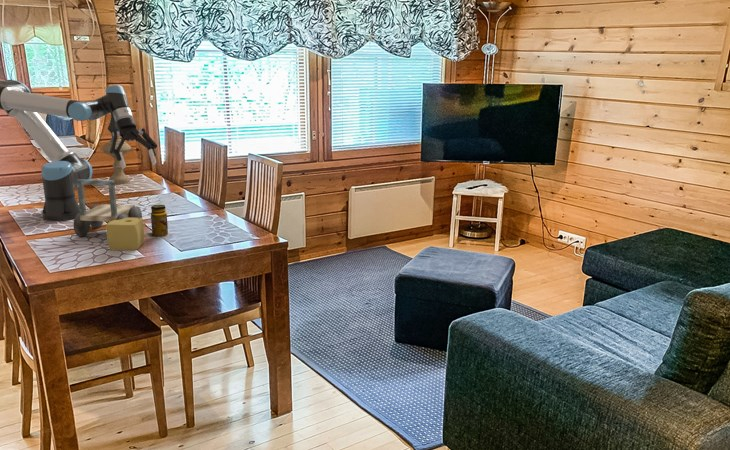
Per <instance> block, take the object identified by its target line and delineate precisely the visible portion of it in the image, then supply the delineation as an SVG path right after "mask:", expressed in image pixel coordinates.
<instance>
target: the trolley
mask: <svg viewBox="0 0 730 450" xmlns="http://www.w3.org/2000/svg"><path fill="white" fill-rule="evenodd" d="M76 181H77V187H76V189H77V198H78V205H79V208H80V213H78V214H77V215H76V216H75V218H74V219H73V231H74V233H75V235H76V236H78V237H86V236H88V234H89V232H90V229H91V227H92V228H101V227H102V226H103V224H104V222H111V221H113V220H120V219H123V218H142V219H143V213H142V209H141V208H140V207H139V206H135V204H133V205H132V204H117V199H116V198H117V197H116V189H115V188H116V186H115V185H116V184H114V180H109V179H90V180H85V179H78V180H76ZM83 184H84V185H88V186H89V185H92V186H108V194H109V204H106V203H101V204H99V205H92V206H91V207H90V209H89V210H87V206H86V199H85V197H86V196H85V190H84V189H85V188H84V185H83Z"/></svg>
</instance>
